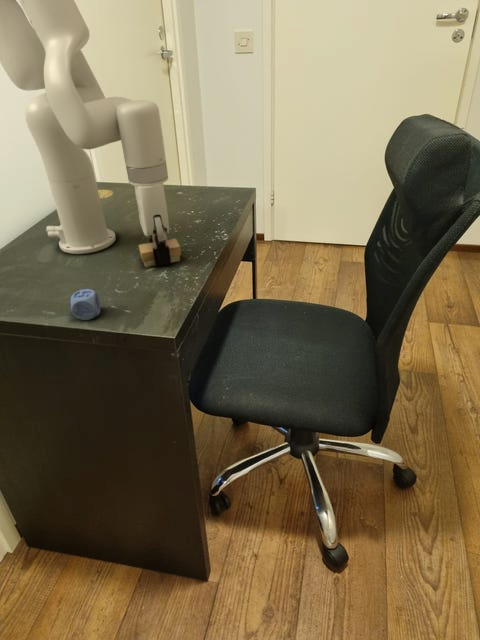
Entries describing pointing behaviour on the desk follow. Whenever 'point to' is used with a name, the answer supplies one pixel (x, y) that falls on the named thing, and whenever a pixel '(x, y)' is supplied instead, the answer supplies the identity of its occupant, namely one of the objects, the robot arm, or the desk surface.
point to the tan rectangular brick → (148, 254)
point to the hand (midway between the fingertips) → (161, 258)
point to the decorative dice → (85, 304)
